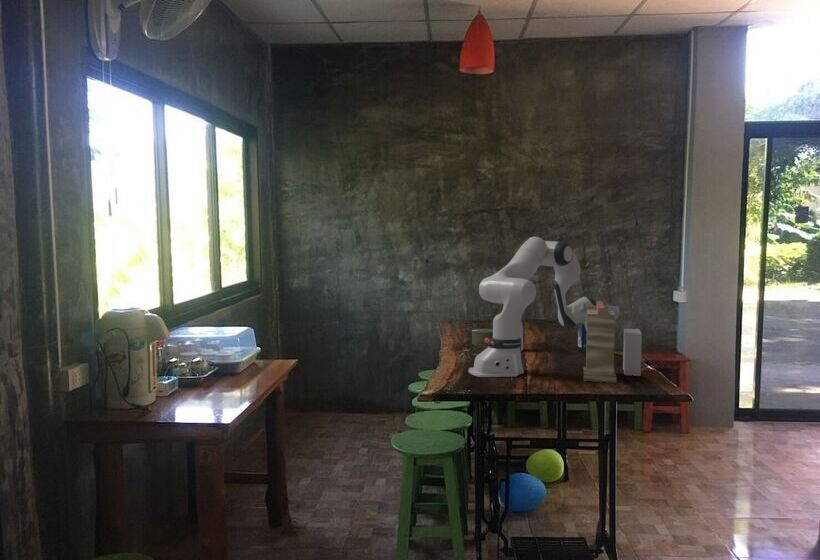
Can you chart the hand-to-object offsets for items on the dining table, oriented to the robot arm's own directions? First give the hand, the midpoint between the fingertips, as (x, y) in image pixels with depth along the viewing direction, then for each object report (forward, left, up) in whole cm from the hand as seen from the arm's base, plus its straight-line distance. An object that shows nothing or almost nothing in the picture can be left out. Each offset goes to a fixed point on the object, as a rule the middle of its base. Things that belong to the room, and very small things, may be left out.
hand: (595, 305), depth 276 cm
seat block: (+5, -20, -26) cm, 33 cm away
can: (-30, +58, -26) cm, 70 cm away
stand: (-12, -24, -26) cm, 37 cm away
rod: (-10, -20, 0) cm, 23 cm away
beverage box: (+18, +34, -26) cm, 46 cm away
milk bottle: (-22, +36, -26) cm, 49 cm away
